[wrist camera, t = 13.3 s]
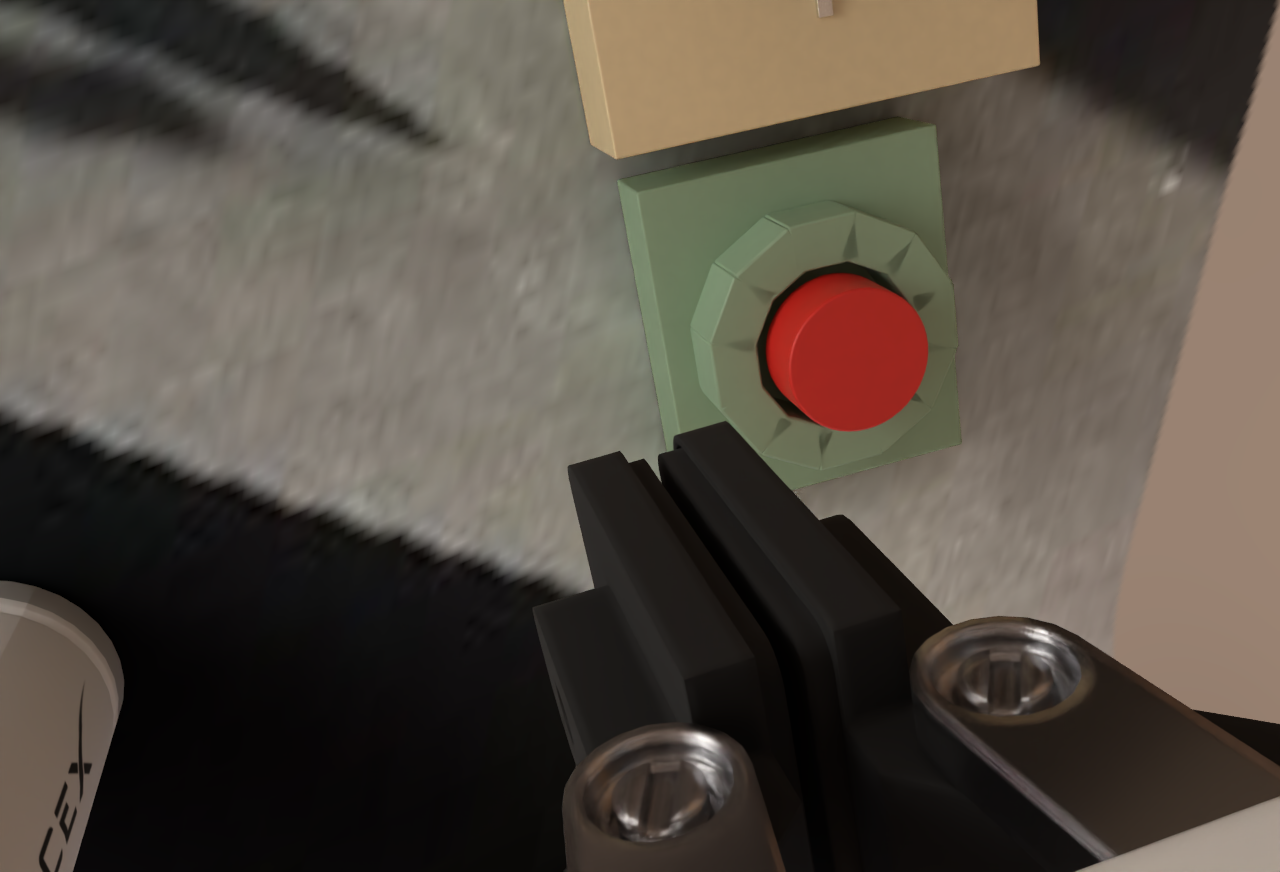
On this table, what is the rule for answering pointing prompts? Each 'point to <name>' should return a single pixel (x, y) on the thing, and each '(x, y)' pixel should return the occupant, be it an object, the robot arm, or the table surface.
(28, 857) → the travel mug
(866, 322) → the button
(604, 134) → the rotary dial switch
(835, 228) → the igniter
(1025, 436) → the table surface
